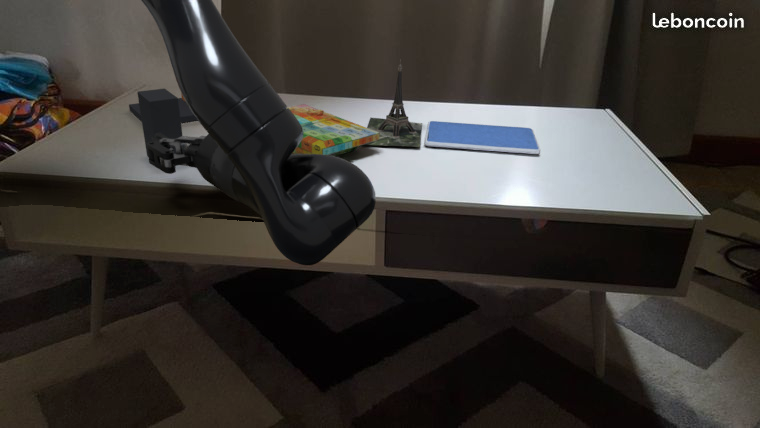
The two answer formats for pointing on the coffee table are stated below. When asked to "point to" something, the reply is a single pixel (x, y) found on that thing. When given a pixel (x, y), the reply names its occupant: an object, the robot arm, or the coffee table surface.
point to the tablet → (481, 137)
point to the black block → (159, 114)
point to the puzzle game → (329, 132)
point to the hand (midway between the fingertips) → (189, 135)
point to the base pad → (184, 110)
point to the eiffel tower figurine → (396, 123)
